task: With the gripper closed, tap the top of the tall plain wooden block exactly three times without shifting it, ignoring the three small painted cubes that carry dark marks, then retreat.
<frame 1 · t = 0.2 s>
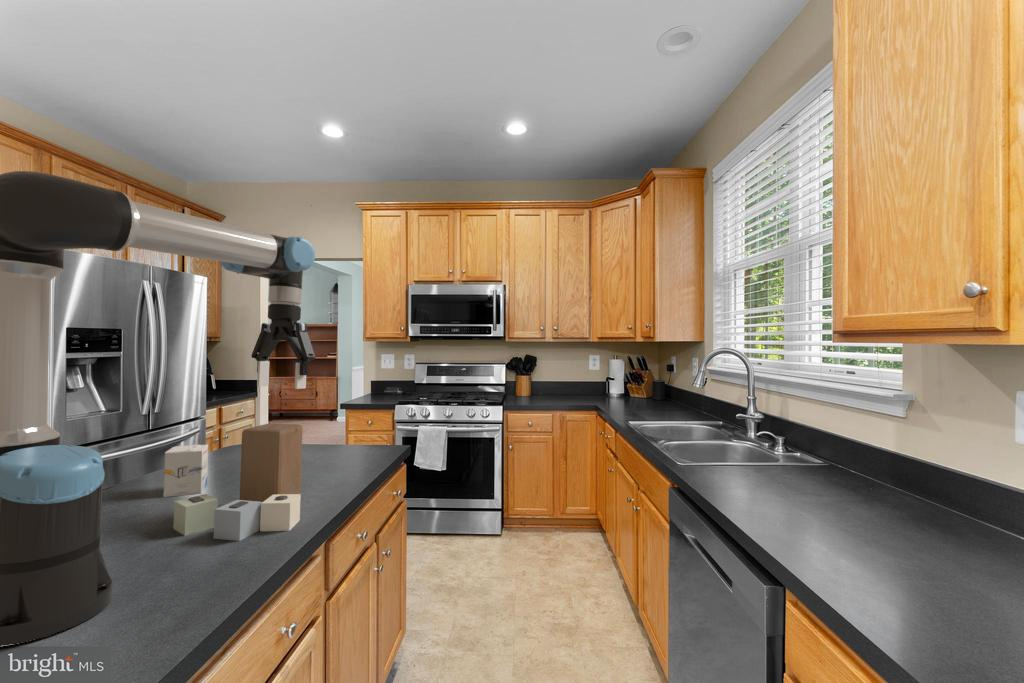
hand: (281, 387, 114), 29 cm above the counter, fingers open, 13 cm apart
marked cube slate: (237, 534, 94), on the counter
ink box: (186, 491, 120), on the counter
marked cube cream: (280, 525, 98), on the counter
wooden block: (270, 509, 108), on the counter
marked cube sage: (195, 528, 96), on the counter
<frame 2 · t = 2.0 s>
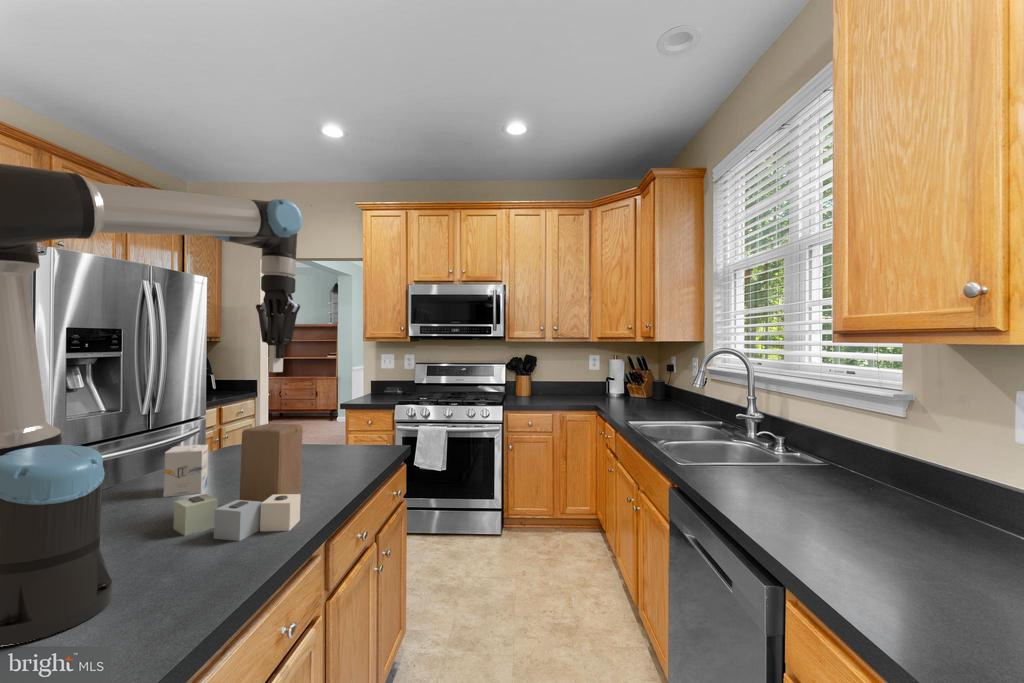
hand: (275, 371, 109), 33 cm above the counter, fingers closed
nothing on the counter moved.
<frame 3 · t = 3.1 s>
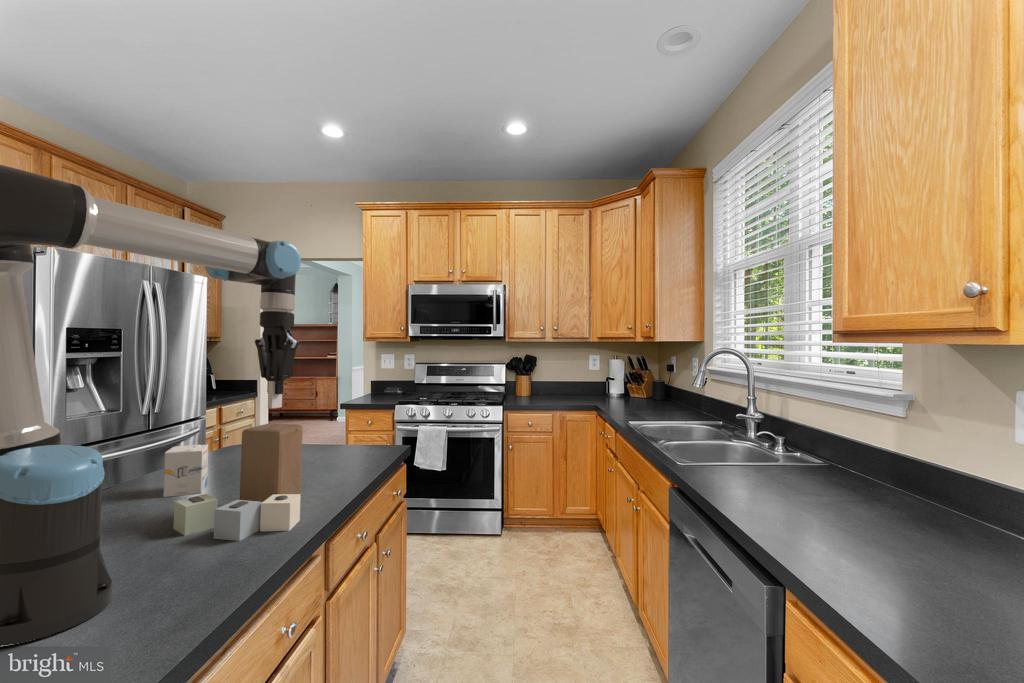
hand: (274, 407, 109), 25 cm above the counter, fingers closed
nothing on the counter moved.
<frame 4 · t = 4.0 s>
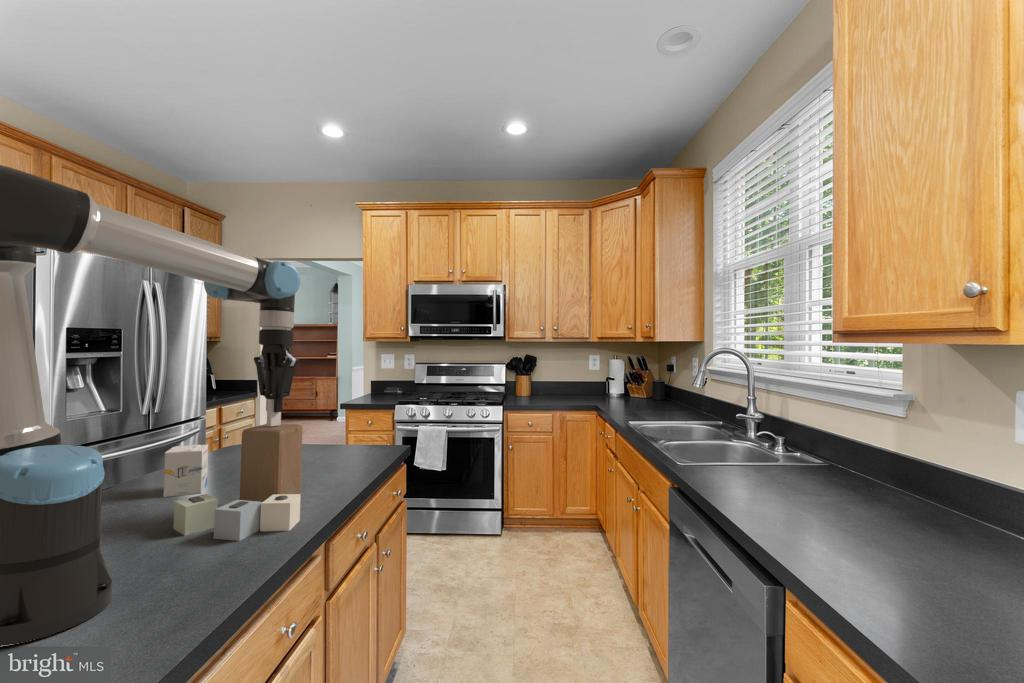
hand: (273, 425, 109), 20 cm above the counter, fingers closed
wooden block: (270, 509, 108), on the counter, touching gripper
everything else where it was.
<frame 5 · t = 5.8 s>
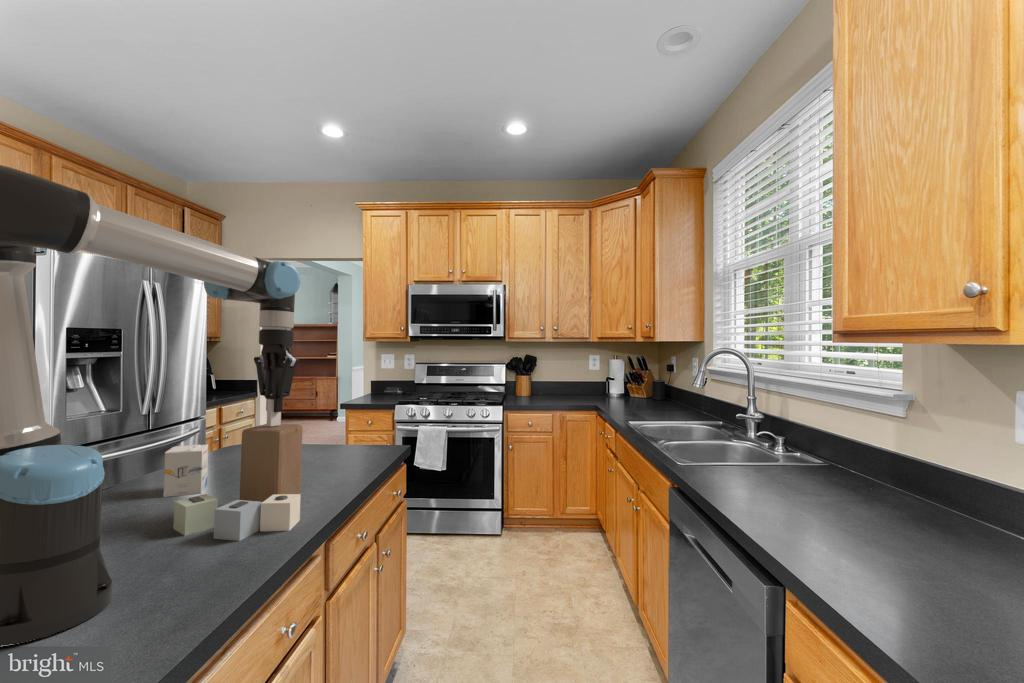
hand: (273, 425, 109), 20 cm above the counter, fingers closed
nothing on the counter moved.
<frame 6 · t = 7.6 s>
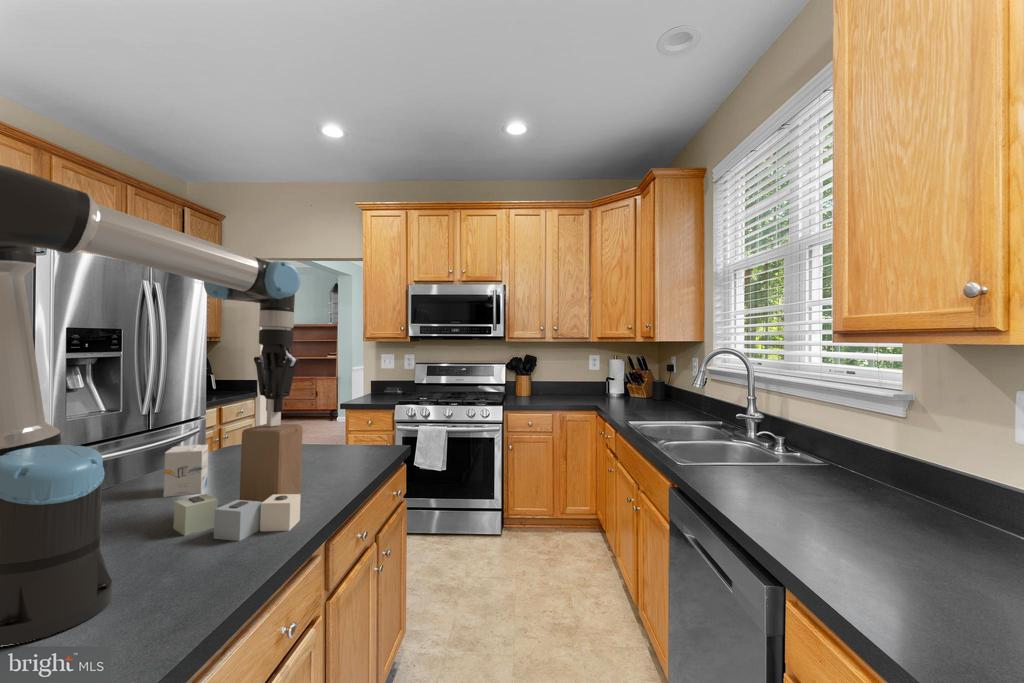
hand: (273, 425, 109), 20 cm above the counter, fingers closed
nothing on the counter moved.
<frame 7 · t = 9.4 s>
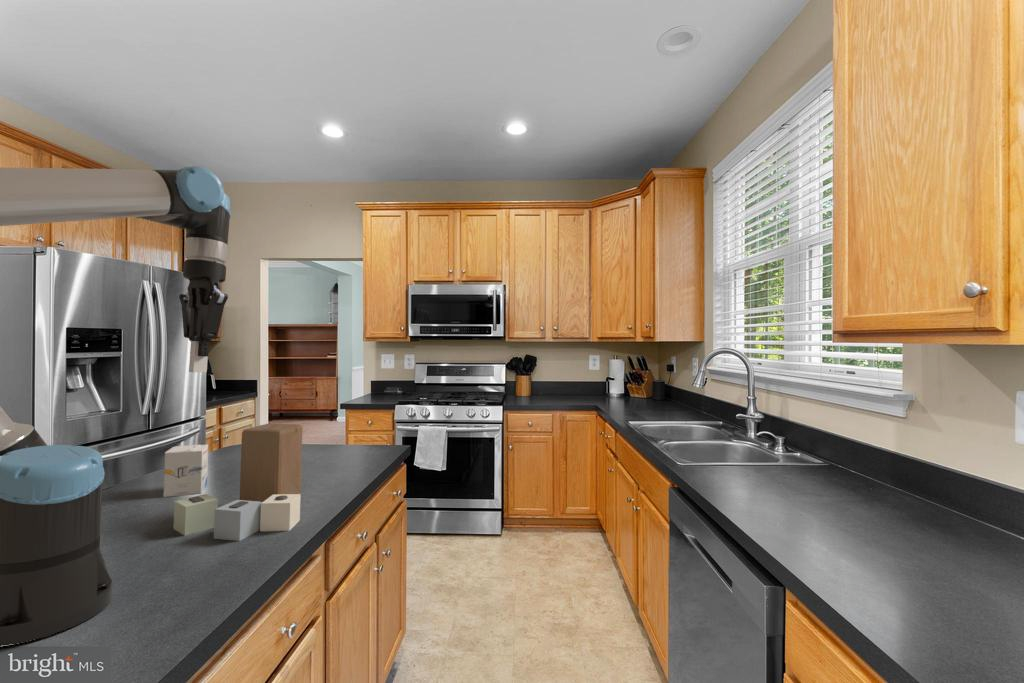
hand: (197, 372, 94), 34 cm above the counter, fingers closed
wooden block: (270, 509, 108), on the counter
everything else where it was.
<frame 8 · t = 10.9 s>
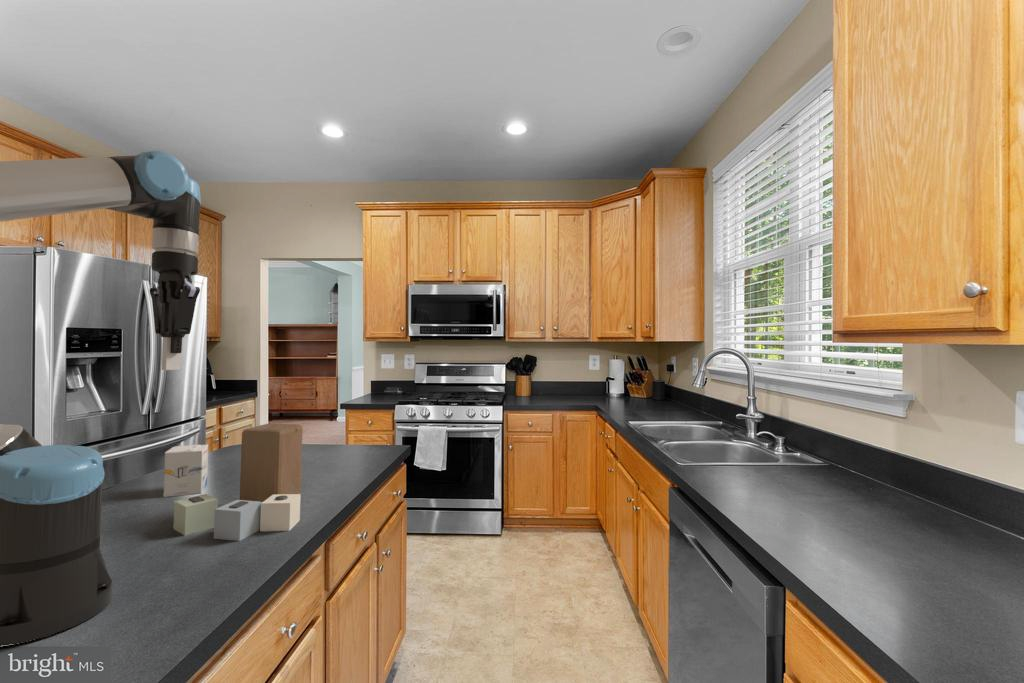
hand: (171, 369, 90), 34 cm above the counter, fingers closed
nothing on the counter moved.
at the end: wooden block moved 0.2 cm from its start; wooden block tilted 0°; the gripper is holding nothing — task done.
